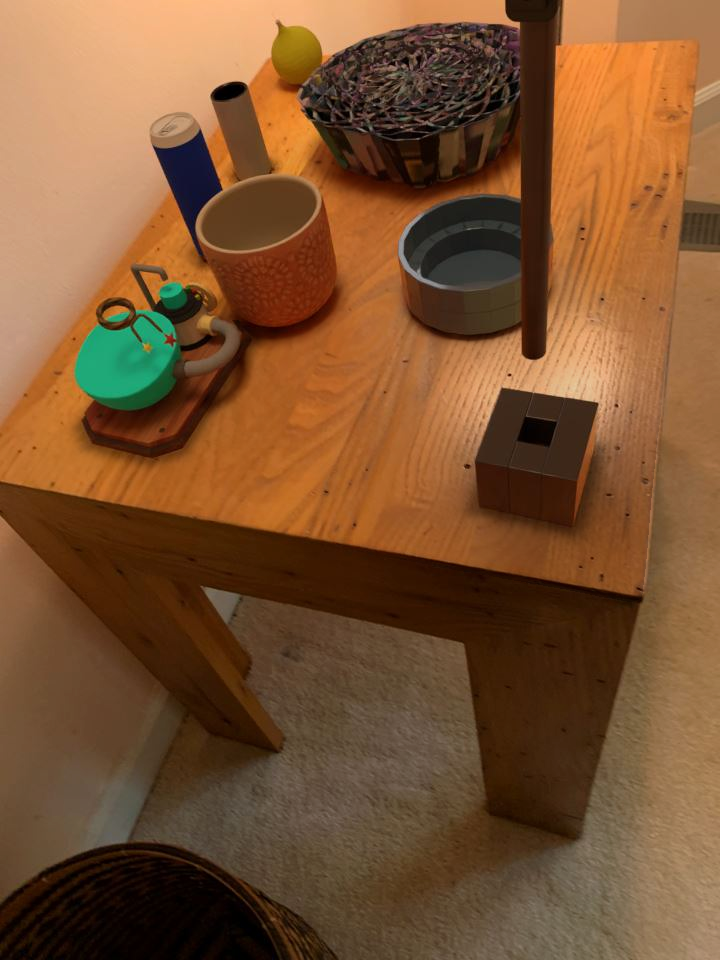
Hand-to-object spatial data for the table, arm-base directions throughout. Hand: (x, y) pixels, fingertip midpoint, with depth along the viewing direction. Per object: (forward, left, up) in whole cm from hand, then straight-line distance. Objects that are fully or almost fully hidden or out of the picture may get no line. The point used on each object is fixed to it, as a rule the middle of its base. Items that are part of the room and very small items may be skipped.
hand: (539, 4), depth 32 cm
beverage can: (+42, -22, -35) cm, 59 cm away
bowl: (+11, -20, -35) cm, 42 cm away
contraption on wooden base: (+36, -2, -35) cm, 50 cm away
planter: (+30, -15, -35) cm, 48 cm away
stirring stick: (0, 0, -21) cm, 21 cm away
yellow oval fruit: (+48, -59, -35) cm, 84 cm away
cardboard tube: (+45, -37, -35) cm, 68 cm away
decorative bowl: (+25, -45, -35) cm, 62 cm away
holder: (0, +1, -35) cm, 35 cm away
